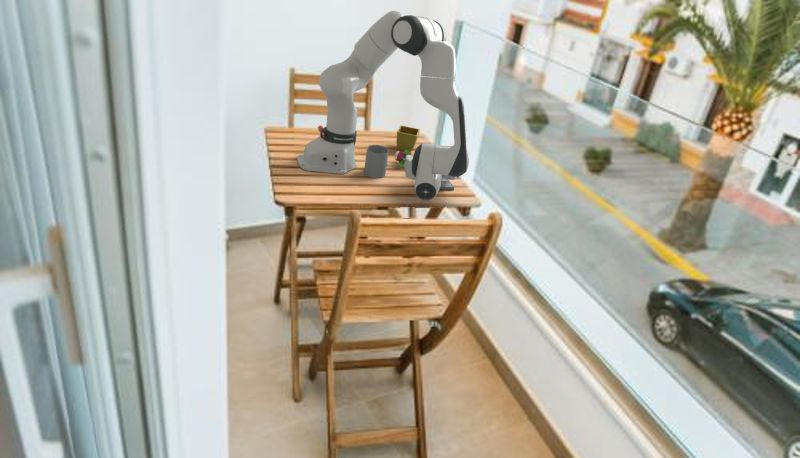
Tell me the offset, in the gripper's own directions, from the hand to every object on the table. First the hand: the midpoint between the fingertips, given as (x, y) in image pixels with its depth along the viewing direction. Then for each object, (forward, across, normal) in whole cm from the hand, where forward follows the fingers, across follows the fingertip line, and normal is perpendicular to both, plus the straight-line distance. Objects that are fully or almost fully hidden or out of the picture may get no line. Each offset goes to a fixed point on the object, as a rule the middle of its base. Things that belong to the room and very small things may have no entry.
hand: (433, 159), depth 196 cm
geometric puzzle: (+10, +12, +10) cm, 18 cm away
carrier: (+2, -1, +9) cm, 10 cm away
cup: (-3, +21, +10) cm, 23 cm away
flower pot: (+27, +13, +10) cm, 32 cm away
